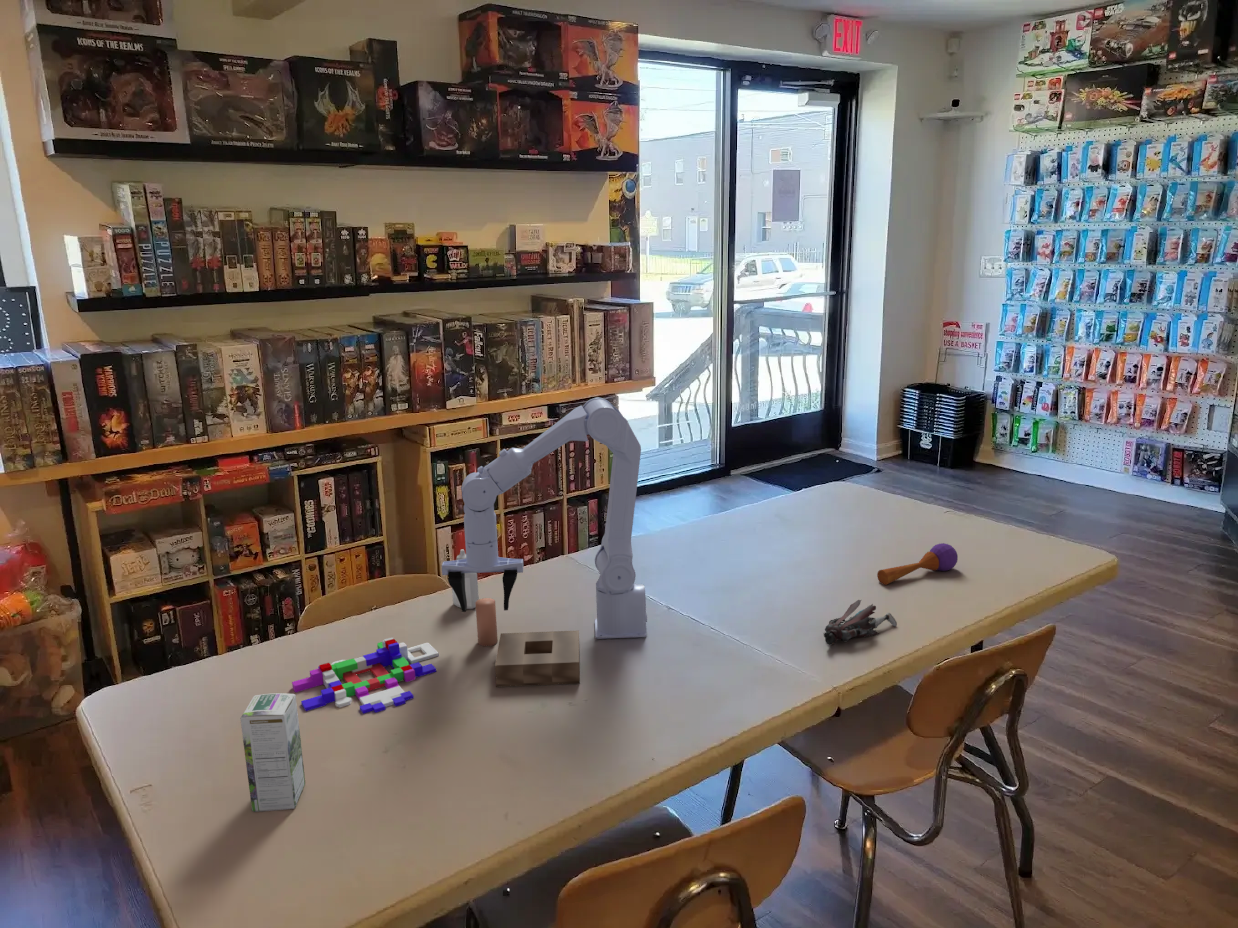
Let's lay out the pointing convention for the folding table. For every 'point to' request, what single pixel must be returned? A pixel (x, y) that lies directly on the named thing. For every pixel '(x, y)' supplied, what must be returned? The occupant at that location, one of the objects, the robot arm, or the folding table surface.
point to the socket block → (538, 659)
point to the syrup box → (273, 752)
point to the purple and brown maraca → (923, 563)
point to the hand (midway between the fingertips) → (485, 608)
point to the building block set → (374, 662)
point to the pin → (486, 622)
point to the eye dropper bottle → (468, 587)
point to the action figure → (855, 624)
